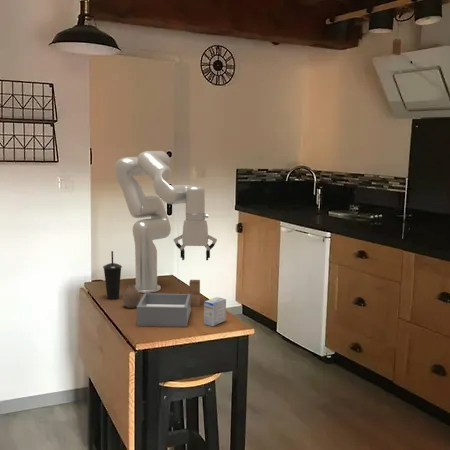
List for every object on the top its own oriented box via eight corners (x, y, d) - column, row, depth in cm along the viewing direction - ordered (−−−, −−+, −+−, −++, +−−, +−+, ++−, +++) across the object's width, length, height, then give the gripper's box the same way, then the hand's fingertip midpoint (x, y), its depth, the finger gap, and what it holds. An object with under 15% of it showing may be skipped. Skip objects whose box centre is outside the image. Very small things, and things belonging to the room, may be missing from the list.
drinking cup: (106, 295, 242) (105, 249, 239) (123, 295, 242) (123, 249, 239) (101, 300, 234) (100, 253, 231) (120, 300, 234) (119, 253, 231)
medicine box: (216, 318, 212) (216, 296, 211) (226, 321, 210) (226, 298, 208) (203, 324, 206) (203, 301, 205) (213, 326, 203) (213, 303, 202)
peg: (190, 303, 232) (190, 279, 230) (199, 303, 232) (200, 279, 230) (189, 306, 228) (189, 282, 226) (199, 306, 228) (199, 282, 226)
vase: (141, 304, 230) (141, 283, 228) (139, 309, 223) (139, 287, 221) (124, 304, 229) (123, 283, 228) (121, 309, 223) (121, 287, 221)
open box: (144, 310, 221) (144, 293, 220) (190, 311, 221) (190, 294, 220) (136, 325, 203) (136, 306, 202) (186, 326, 203) (186, 307, 202)
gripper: (217, 216, 228) (217, 258, 230) (174, 216, 228) (174, 257, 231) (216, 218, 220) (216, 261, 223) (172, 218, 221) (172, 261, 223)
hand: (195, 259), depth 227 cm, fingers open, 9 cm apart
